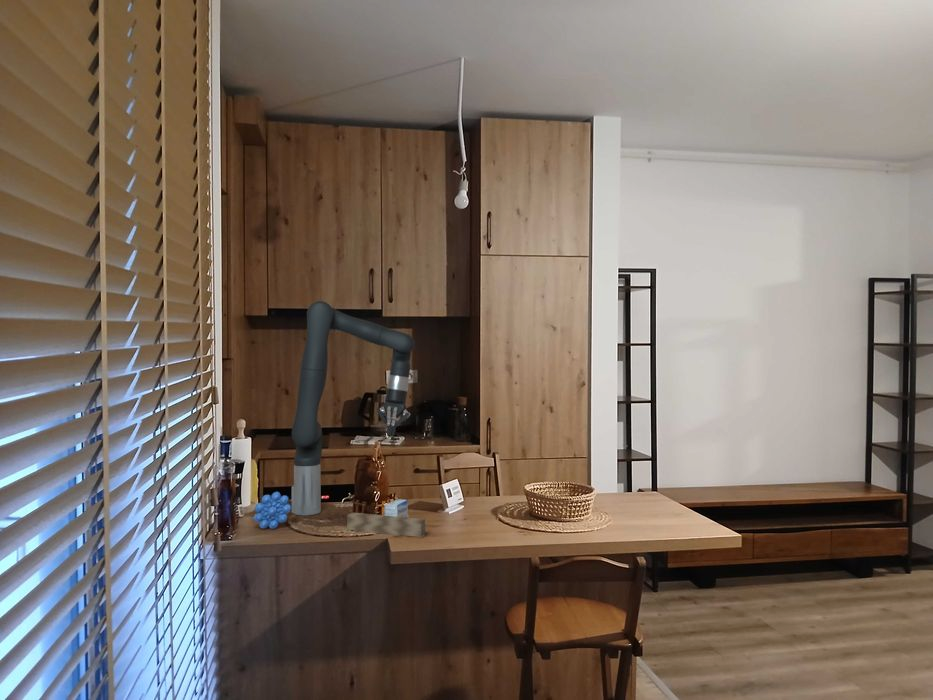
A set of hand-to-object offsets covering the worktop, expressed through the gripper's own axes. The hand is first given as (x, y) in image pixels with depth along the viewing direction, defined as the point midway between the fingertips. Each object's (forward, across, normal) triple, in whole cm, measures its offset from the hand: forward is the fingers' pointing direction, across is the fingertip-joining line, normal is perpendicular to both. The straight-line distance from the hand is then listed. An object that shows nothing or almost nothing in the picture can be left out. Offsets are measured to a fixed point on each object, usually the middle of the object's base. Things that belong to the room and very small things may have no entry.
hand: (390, 436), depth 236 cm
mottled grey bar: (+28, +14, -24) cm, 39 cm away
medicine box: (+28, +15, -19) cm, 37 cm away
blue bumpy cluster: (+33, -24, -29) cm, 50 cm away
